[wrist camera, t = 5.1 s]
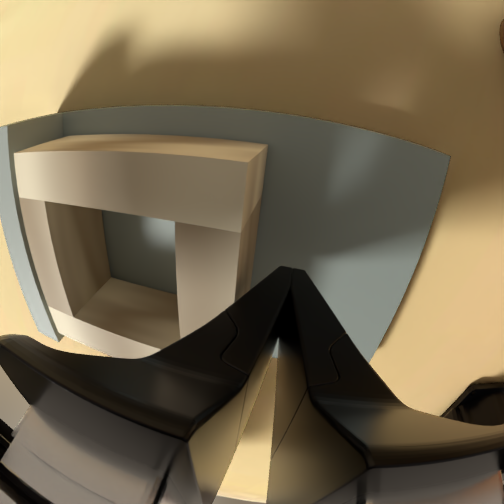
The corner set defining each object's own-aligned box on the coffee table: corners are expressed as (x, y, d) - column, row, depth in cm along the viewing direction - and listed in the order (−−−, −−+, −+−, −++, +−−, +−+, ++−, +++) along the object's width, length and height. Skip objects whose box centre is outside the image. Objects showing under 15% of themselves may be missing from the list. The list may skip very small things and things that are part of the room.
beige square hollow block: (268, 144, 8) (247, 162, 6) (243, 337, 12) (226, 393, 10) (69, 135, 9) (13, 153, 7) (92, 295, 13) (58, 332, 11)
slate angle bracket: (438, 151, 8) (500, 181, 5) (362, 355, 13) (367, 424, 10) (55, 113, 10) (-11, 130, 6) (79, 289, 15) (38, 331, 11)
